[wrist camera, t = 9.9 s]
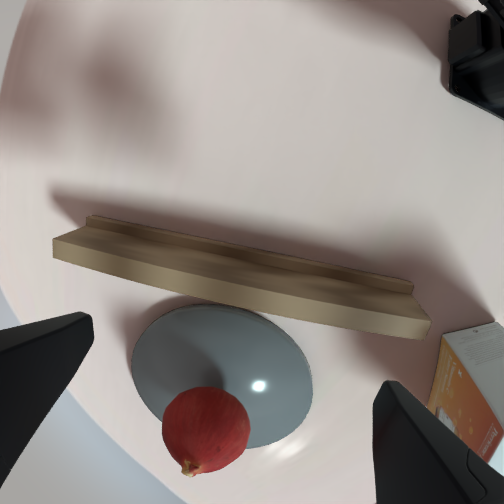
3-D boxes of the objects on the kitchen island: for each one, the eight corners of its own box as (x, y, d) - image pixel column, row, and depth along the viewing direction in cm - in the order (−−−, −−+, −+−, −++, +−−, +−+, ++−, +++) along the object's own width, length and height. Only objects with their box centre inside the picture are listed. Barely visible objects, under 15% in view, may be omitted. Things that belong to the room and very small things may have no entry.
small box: (440, 331, 19) (506, 429, 9) (497, 319, 19) (570, 396, 8) (424, 409, 21) (459, 503, 11) (476, 395, 21) (521, 476, 11)
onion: (262, 418, 22) (248, 502, 14) (193, 418, 23) (163, 494, 15) (247, 360, 20) (224, 451, 13) (170, 364, 22) (125, 442, 14)
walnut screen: (409, 281, 19) (436, 311, 14) (398, 313, 19) (419, 349, 15) (92, 215, 20) (52, 229, 16) (91, 247, 21) (53, 266, 17)
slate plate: (336, 327, 20) (338, 335, 19) (286, 452, 24) (286, 460, 23) (136, 283, 21) (130, 288, 20) (139, 416, 25) (135, 423, 24)
